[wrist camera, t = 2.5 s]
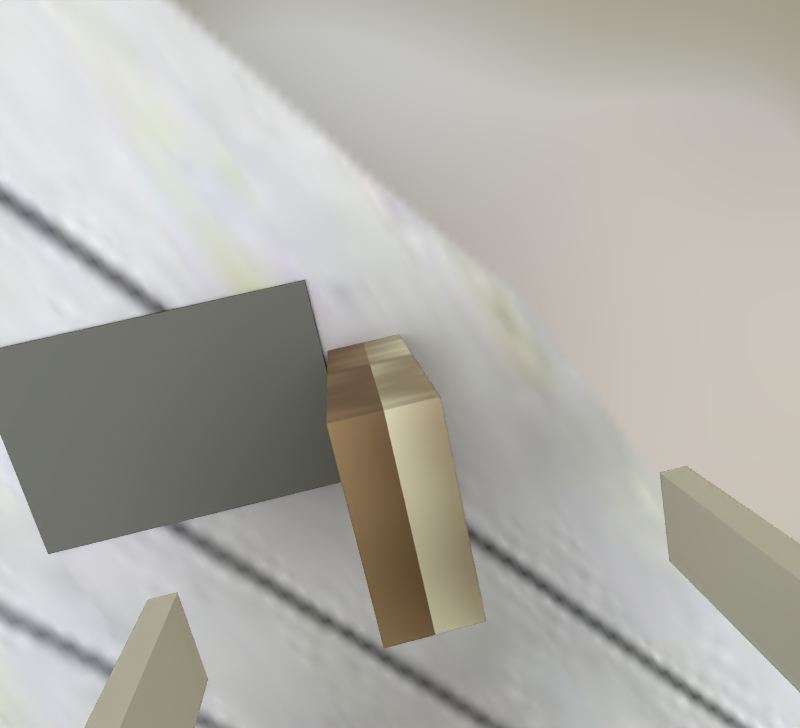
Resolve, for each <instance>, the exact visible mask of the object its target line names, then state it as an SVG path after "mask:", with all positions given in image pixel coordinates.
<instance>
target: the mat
mask: <svg viewBox="0 0 800 728" xmlns="http://www.w3.org/2000/svg"><path fill="white" fill-rule="evenodd" d="M0 435H1V437H2V440H3V442H4V445H5V447H6V450H7V452H8V455H9V457H10V460H11V462H12V465H13V467H14V470H15V472H16V475H17V477H18V480H19V482H20V485H21V487H22V490H23V492H24V495H25V497H26V500H27V502H28V505H29V507H30V510H31V512H32V515H33V517H34V520H35V522H36V525H37V527H38V530H39V532H40V535H41V537H42V540H43V542H44V545H45V547H46V550H47V552H48V554H51V553H55V552H59V551H63V550H67V549H71V548H75V547H79V546H83V545H88V544H92V543H96V542H100V541H104V540H108V539H112V538H116V537H120V536H124V535H128V534H132V533H136V532H140V531H144V530H148V529H152V528H156V527H161V526H165V525H169V524H173V523H177V522H181V521H185V520H189V519H193V518H197V517H201V516H205V515H209V514H213V513H217V512H221V511H225V510H229V509H234V508H238V507H242V506H246V505H250V504H254V503H258V502H262V501H266V500H270V499H274V498H278V497H282V496H286V495H290V494H294V493H298V492H303V491H307V490H311V489H315V488H319V487H323V486H327V485H331V484H335V483H339V482H341V479H340V475H339V471H338V467H337V463H336V459H335V455H334V451H333V447H332V443H331V440H330V436H329V432H328V428H327V368H326V364H325V360H324V356H323V352H322V348H321V344H320V340H319V336H318V332H317V328H316V324H315V320H314V316H313V312H312V308H311V304H310V300H309V296H308V292H307V288H306V284H305V280H303V281H298V282H294V283H289V284H285V285H280V286H276V287H271V288H267V289H262V290H258V291H253V292H249V293H244V294H240V295H235V296H231V297H226V298H222V299H218V300H213V301H209V302H204V303H200V304H195V305H191V306H186V307H182V308H177V309H173V310H168V311H164V312H159V313H155V314H150V315H146V316H141V317H137V318H132V319H128V320H124V321H119V322H115V323H110V324H106V325H101V326H97V327H92V328H88V329H83V330H79V331H74V332H70V333H65V334H61V335H56V336H52V337H47V338H43V339H38V340H34V341H29V342H25V343H21V344H16V345H12V346H7V347H3V348H0Z"/></svg>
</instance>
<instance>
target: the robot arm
mask: <svg viewBox="0 0 800 728" xmlns="http://www.w3.org/2000/svg"><path fill="white" fill-rule="evenodd" d="M660 479H661V489H662V498H663V507H664V516H665V525H666V535H667V544H668V553H669V561H670V562H671V563H672V564H673V565H674V566H675V567H676V568H677V569H678V570H679V571H680V572H681V573H682V574H683V575H684V576H685V577H686V578H687V579H688V580H689V581H690V582H691V583H692V584H693V585H694V586H695V587H696V588H697V589H698V590H699V591H700V592H701V593H702V594H703V595H704V596H705V597H706V598H707V599H708V600H709V601H710V602H711V603H712V604H713V605H714V606H715V607H716V608H717V609H718V610H719V611H720V612H721V613H722V614H723V615H724V616H725V617H726V618H727V619H728V620H729V621H730V622H731V623H732V625H733V626H734V627H735V628H736V629H737V630H738V631H739V632H740V633H741V634H742V635H743V636H744V637H745V638H746V639H747V640H748V641H749V642H750V643H751V644H752V645H753V646H754V647H755V648H756V649H757V650H758V651H759V652H760V653H761V654H762V655H763V656H764V657H765V658H766V659H767V660H768V661H769V662H770V663H771V664H772V665H773V666H774V667H775V668H776V669H777V670H778V671H779V672H780V673H781V674H782V675H783V676H784V677H785V678H786V679H787V680H788V681H789V682H790V683H791V684H792V685H793V686H794V687H795V688H796V689H797V690H798V691H799V692H800V544H799V543H798V542H796V541H795V540H793V539H792V538H790V537H789V536H787V535H786V534H784V533H783V532H782V531H780V530H779V529H777V528H776V527H774V526H773V525H772V524H770V523H769V522H767V521H766V520H764V519H763V518H761V517H760V516H758V515H757V514H755V513H754V512H753V511H751V510H750V509H748V508H746V507H745V506H744V505H743V504H741V503H740V502H738V501H737V500H735V499H734V498H732V497H731V496H730V495H728V494H727V493H725V492H724V491H722V490H721V489H719V488H718V487H716V486H715V485H714V484H712V483H711V482H709V481H708V480H706V479H705V478H703V477H702V476H701V475H699V474H698V473H696V472H695V471H693V470H692V469H690V468H689V467H687V466H684V467H680V468H676V469H673V470H668V471H664V472H660ZM207 681H208V678H207V675H206V672H205V670H204V667H203V664H202V661H201V658H200V655H199V652H198V650H197V647H196V644H195V641H194V638H193V635H192V633H191V630H190V627H189V624H188V621H187V618H186V615H185V613H184V610H183V607H182V604H181V601H180V598H179V596H178V593H173V594H169V595H165V596H161V597H157V598H153V599H149V600H147V602H146V604H145V606H144V609H143V611H142V613H141V615H140V617H139V619H138V621H137V623H136V625H135V627H134V629H133V631H132V633H131V635H130V637H129V639H128V641H127V643H126V645H125V647H124V649H123V651H122V653H121V655H120V657H119V659H118V661H117V663H116V665H115V667H114V669H113V671H112V673H111V675H110V677H109V679H108V681H107V683H106V685H105V687H104V689H103V691H102V693H101V695H100V697H99V699H98V701H97V703H96V705H95V707H94V709H93V711H92V713H91V715H90V717H89V719H88V721H87V723H86V725H85V727H84V728H195V724H196V721H197V717H198V713H199V710H200V706H201V703H202V699H203V695H204V692H205V688H206V685H207Z"/></svg>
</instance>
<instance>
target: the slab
mask: <svg viewBox="0 0 800 728" xmlns="http://www.w3.org/2000/svg"><path fill="white" fill-rule="evenodd" d="M327 428H328V432H329V436H330V440H331V443H332V447H333V451H334V455H335V459H336V463H337V467H338V471H339V475H340V479H341V482H342V486H343V490H344V494H345V498H346V502H347V506H348V510H349V514H350V518H351V521H352V525H353V529H354V533H355V537H356V541H357V545H358V549H359V553H360V557H361V560H362V564H363V568H364V572H365V576H366V580H367V584H368V588H369V592H370V596H371V600H372V603H373V607H374V611H375V615H376V619H377V623H378V627H379V631H380V635H381V639H382V642H383V646H384V648H387V647H391V646H395V645H399V644H402V643H406V642H410V641H414V640H417V639H421V638H425V637H429V636H432V635H436V634H440V633H444V632H447V631H451V630H455V629H459V628H462V627H466V626H470V625H474V624H477V623H481V622H485V621H486V618H485V613H484V608H483V603H482V598H481V594H480V589H479V584H478V579H477V574H476V569H475V564H474V559H473V554H472V549H471V545H470V540H469V535H468V530H467V525H466V520H465V515H464V510H463V505H462V500H461V496H460V491H459V486H458V481H457V476H456V471H455V466H454V461H453V456H452V451H451V447H450V442H449V437H448V432H447V427H446V422H445V417H444V412H443V407H442V402H441V398H440V396H439V394H438V393H437V391H436V390H435V388H434V387H433V385H432V384H431V382H430V381H429V379H428V377H427V376H426V374H425V373H424V371H423V370H422V368H421V367H420V365H419V364H418V362H417V361H416V359H415V358H414V356H413V355H412V353H411V352H410V350H409V349H408V347H407V346H406V344H405V343H404V341H403V340H402V338H401V337H400V335H394V336H390V337H386V338H381V339H377V340H373V341H368V342H364V343H360V344H355V345H351V346H347V347H342V348H338V349H334V350H330V351H328V359H327Z"/></svg>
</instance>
